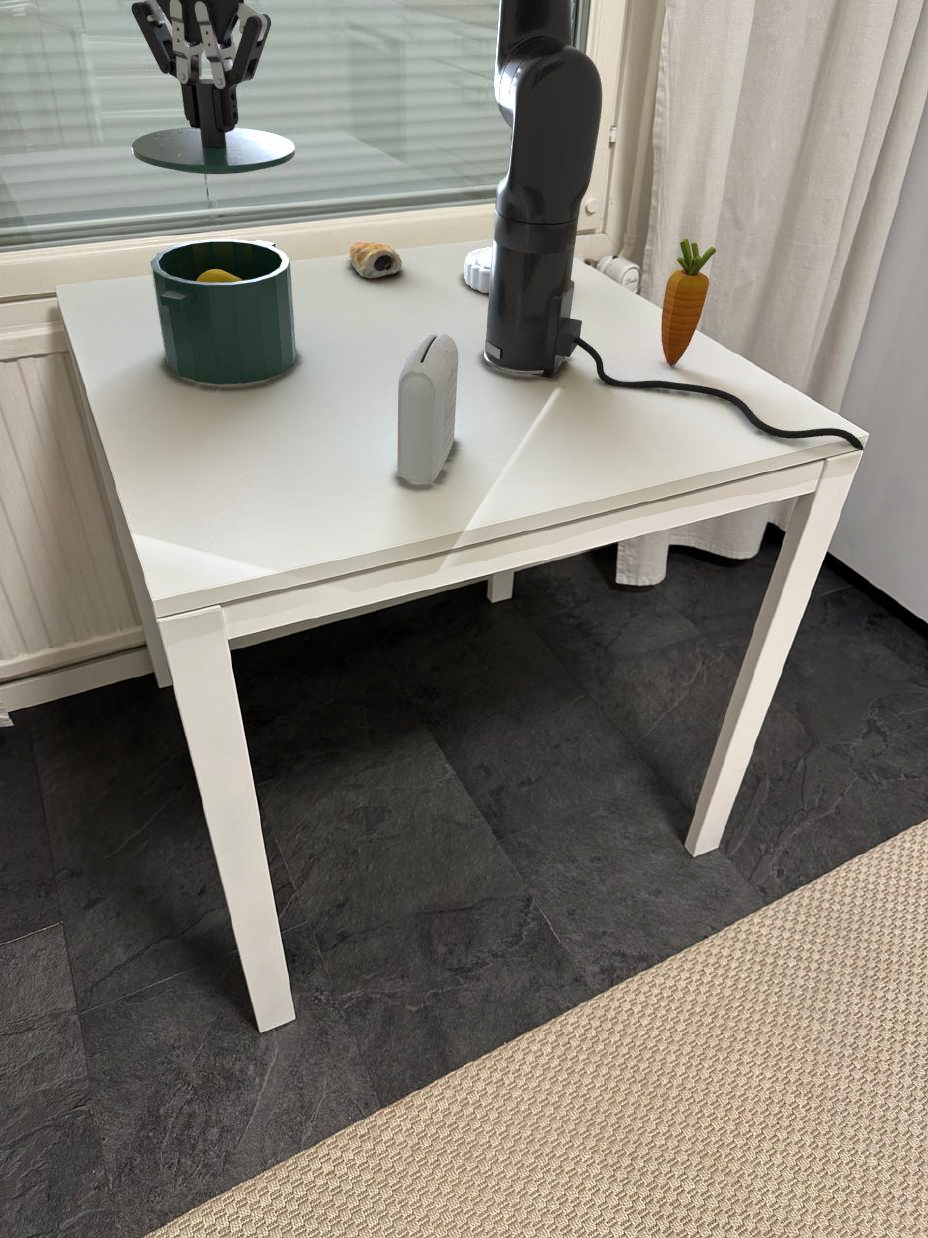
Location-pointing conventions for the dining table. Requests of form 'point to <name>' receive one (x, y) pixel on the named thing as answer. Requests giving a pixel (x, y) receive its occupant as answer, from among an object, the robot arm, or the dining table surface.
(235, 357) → the pot
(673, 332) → the carrot
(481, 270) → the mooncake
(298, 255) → the dining table surface
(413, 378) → the photo printer
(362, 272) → the pastry
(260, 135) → the lid
